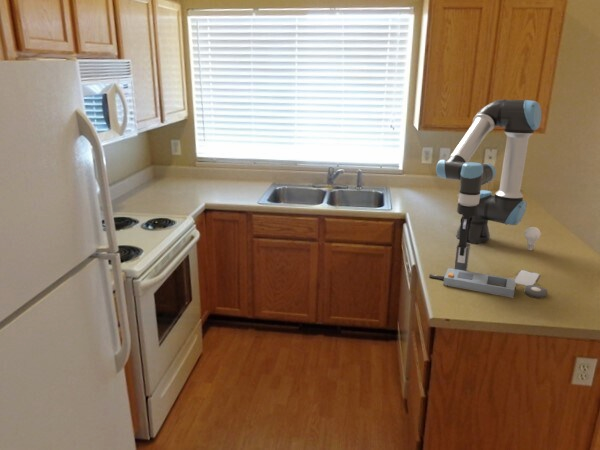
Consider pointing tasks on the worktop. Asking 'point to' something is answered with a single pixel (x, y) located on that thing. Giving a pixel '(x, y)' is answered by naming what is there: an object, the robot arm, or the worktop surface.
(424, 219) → the worktop surface
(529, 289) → the grey disc with dome
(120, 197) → the worktop surface
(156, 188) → the worktop surface
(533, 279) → the smartphone
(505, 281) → the power strip
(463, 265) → the brick
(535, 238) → the lightbulb
